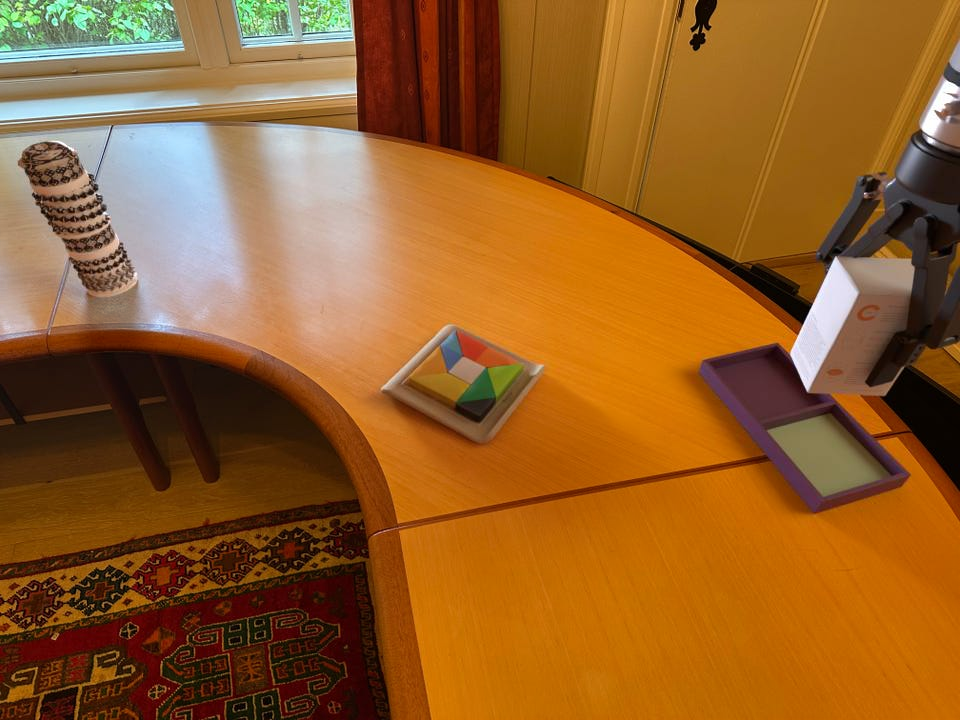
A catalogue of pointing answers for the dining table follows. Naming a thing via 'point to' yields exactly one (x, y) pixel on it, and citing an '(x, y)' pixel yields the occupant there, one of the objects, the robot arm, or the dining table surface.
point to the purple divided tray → (802, 429)
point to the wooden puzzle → (465, 383)
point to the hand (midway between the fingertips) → (847, 353)
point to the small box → (853, 324)
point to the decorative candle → (78, 217)
